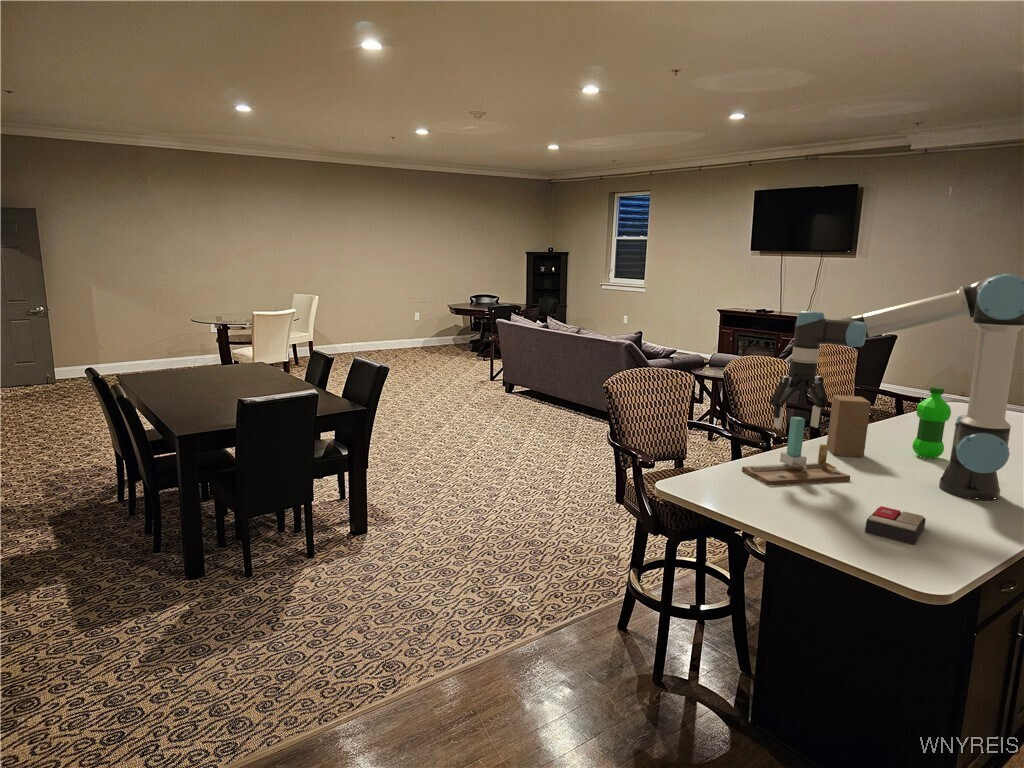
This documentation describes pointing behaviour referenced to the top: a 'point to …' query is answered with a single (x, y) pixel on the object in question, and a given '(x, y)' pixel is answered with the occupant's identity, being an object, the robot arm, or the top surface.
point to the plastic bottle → (931, 424)
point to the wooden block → (848, 425)
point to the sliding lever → (795, 444)
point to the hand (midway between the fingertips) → (795, 427)
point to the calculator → (895, 525)
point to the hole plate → (798, 472)
